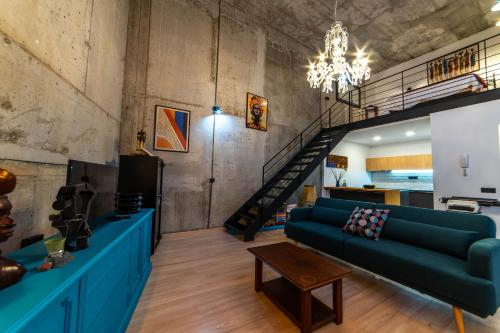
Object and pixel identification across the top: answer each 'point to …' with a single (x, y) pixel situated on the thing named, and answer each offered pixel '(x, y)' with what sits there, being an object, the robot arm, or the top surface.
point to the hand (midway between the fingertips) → (70, 235)
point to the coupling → (56, 253)
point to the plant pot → (54, 244)
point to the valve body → (55, 261)
